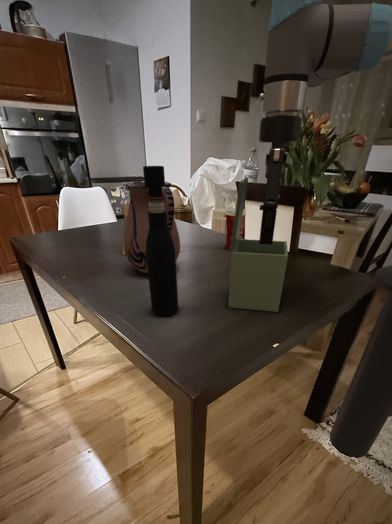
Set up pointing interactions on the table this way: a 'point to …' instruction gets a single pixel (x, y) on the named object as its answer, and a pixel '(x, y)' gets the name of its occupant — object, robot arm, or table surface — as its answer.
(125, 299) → the table surface
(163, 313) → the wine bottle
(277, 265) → the bin
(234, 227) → the bin lid
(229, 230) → the paper cup
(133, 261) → the ceramic pitcher
